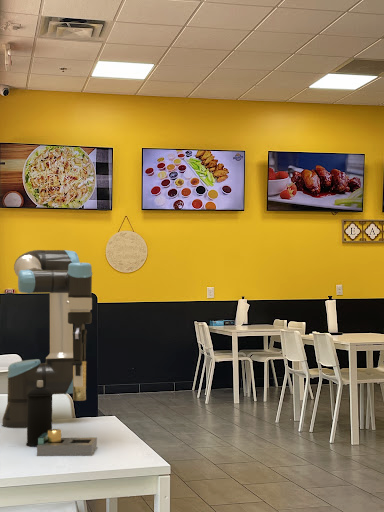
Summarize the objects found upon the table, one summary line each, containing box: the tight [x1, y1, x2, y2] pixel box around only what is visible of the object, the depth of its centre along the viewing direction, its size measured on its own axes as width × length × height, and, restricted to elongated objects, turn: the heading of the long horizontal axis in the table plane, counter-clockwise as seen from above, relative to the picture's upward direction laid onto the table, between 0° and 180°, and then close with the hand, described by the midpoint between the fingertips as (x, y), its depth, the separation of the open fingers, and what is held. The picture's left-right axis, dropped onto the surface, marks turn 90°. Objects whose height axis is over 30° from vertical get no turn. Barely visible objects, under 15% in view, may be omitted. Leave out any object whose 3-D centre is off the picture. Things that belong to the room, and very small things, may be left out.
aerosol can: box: [25, 380, 54, 448], centre depth 233 cm, size 8×8×20 cm
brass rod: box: [72, 360, 87, 402], centre depth 232 cm, size 4×4×12 cm
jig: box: [36, 428, 98, 457], centre depth 221 cm, size 12×16×6 cm
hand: (79, 385), depth 232 cm, fingers closed on brass rod, 4 cm apart
